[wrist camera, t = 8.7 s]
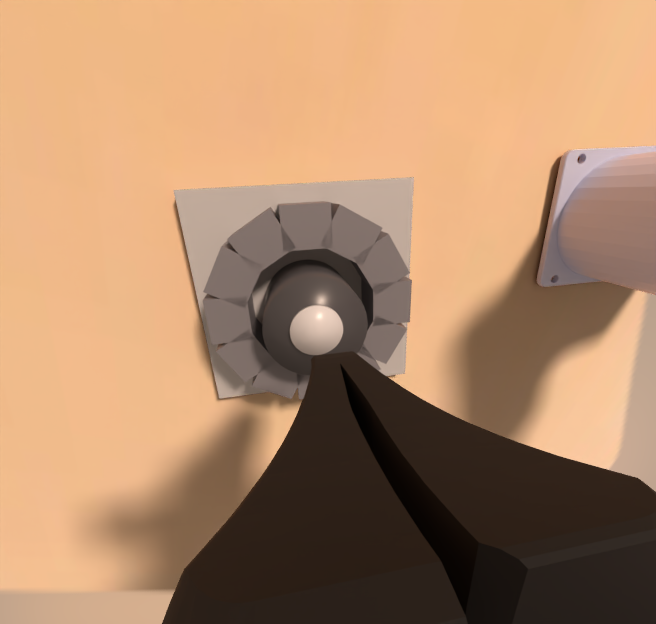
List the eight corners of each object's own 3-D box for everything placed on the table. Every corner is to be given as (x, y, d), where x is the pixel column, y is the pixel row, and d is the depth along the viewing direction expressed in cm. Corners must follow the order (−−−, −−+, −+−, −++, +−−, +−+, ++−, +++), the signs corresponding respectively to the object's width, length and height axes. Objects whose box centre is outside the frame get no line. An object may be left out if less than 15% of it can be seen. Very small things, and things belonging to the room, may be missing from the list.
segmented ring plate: (407, 178, 17) (435, 174, 14) (400, 367, 21) (420, 395, 18) (178, 190, 15) (154, 189, 12) (221, 390, 20) (211, 425, 17)
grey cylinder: (353, 262, 17) (376, 282, 13) (343, 340, 19) (360, 377, 15) (266, 256, 16) (263, 275, 13) (263, 337, 18) (260, 377, 14)
